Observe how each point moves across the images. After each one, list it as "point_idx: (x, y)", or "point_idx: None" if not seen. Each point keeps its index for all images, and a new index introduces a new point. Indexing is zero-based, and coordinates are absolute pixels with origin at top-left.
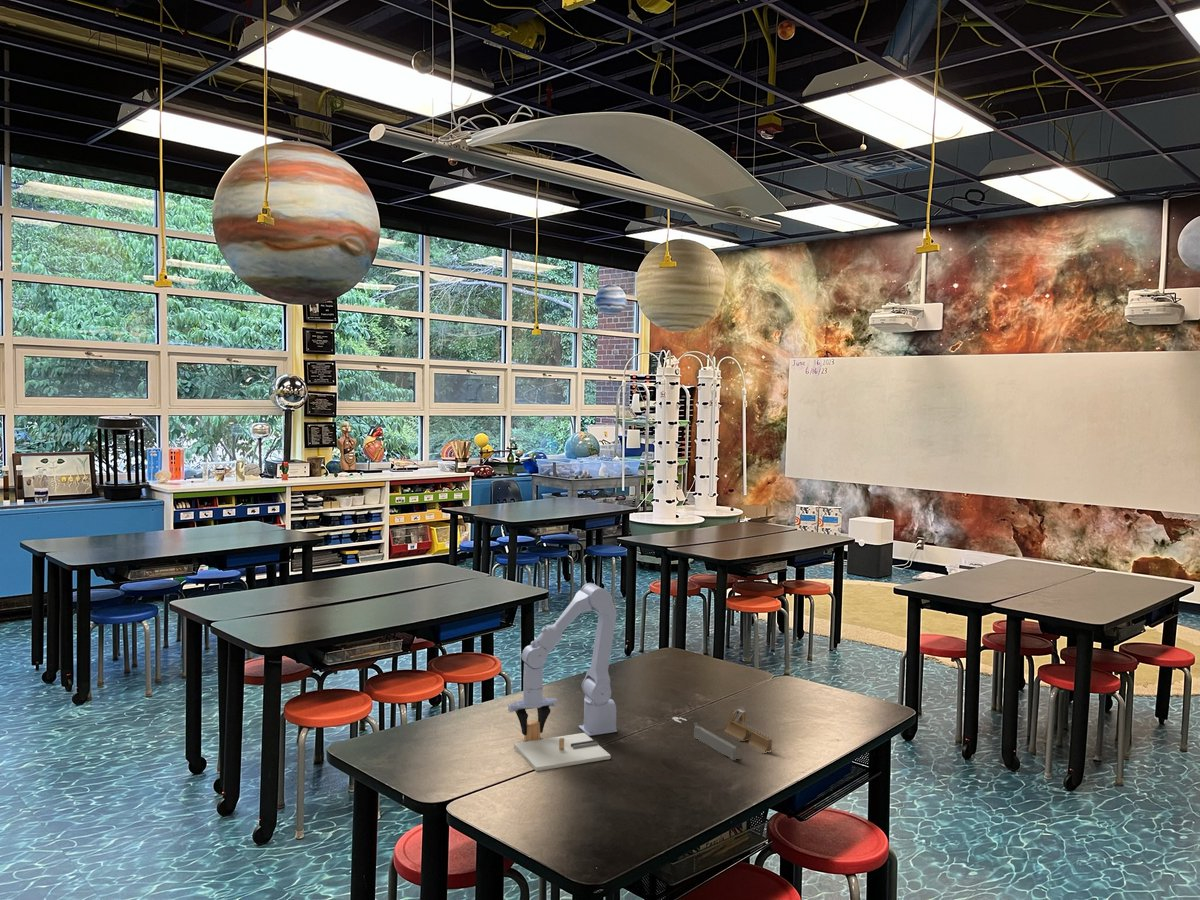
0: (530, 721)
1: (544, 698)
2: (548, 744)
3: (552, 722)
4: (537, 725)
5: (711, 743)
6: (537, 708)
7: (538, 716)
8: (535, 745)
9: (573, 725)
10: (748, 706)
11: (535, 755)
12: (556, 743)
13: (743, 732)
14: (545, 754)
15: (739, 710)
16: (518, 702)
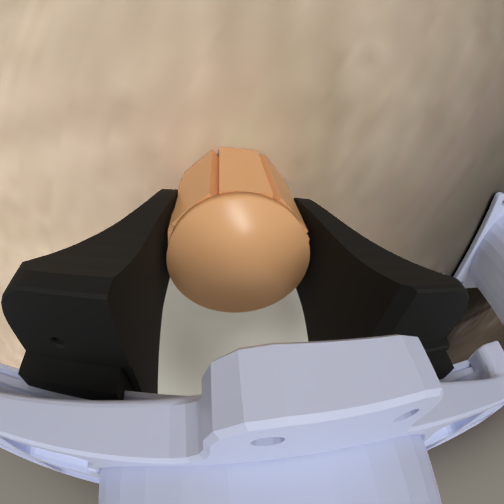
0: (242, 222)
1: (481, 412)
2: (250, 336)
3: (470, 50)
4: (255, 306)
5: None
6: (381, 288)
7: (335, 259)
8: (188, 327)
9: (500, 155)
10: None
11: (158, 379)
12: (289, 337)
13: None
14: (195, 384)
15: None
16: (20, 430)
